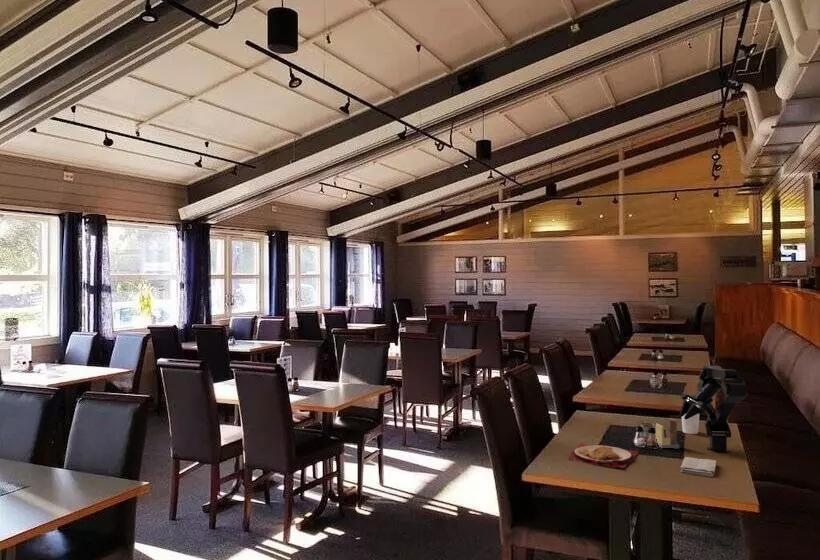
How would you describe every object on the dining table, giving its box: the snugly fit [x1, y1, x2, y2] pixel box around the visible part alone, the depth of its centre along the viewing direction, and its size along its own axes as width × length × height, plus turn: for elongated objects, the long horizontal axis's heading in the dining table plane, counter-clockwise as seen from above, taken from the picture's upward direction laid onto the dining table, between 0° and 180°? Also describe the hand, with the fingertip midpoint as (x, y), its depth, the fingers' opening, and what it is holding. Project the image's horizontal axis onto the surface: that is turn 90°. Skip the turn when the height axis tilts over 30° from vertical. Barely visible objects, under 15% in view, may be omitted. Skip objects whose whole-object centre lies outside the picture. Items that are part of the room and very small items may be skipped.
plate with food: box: [564, 443, 639, 469], centre depth 256 cm, size 25×26×4 cm
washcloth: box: [680, 456, 717, 478], centre depth 241 cm, size 12×18×3 cm, turn 152°
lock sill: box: [655, 422, 680, 449], centre depth 272 cm, size 8×6×10 cm
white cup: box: [681, 414, 700, 435], centre depth 298 cm, size 8×8×10 cm
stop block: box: [665, 417, 678, 444], centre depth 272 cm, size 3×4×10 cm
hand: (682, 417), depth 274 cm, fingers open, 4 cm apart
